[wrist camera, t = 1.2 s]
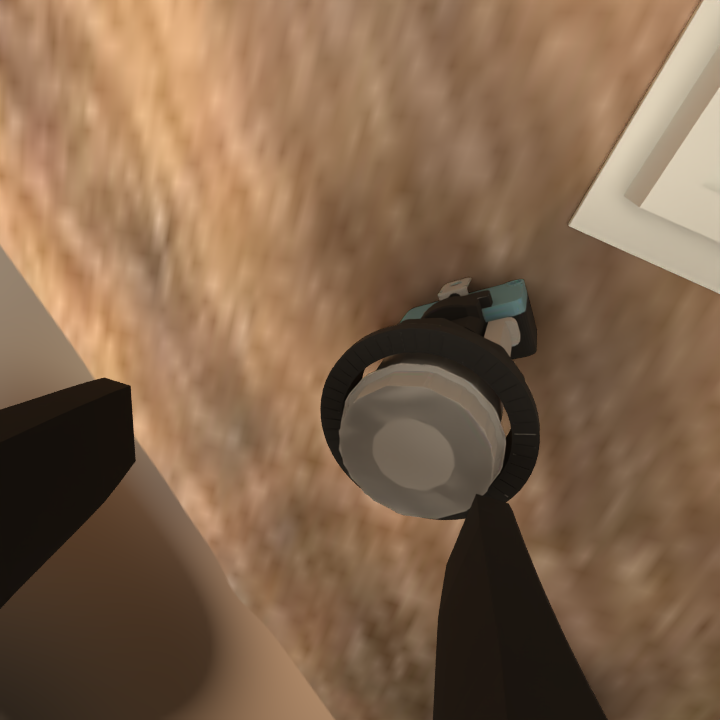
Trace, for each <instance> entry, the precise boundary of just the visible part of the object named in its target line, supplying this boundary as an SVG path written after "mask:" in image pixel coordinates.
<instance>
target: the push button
mask: <svg viewBox="0 0 720 720" xmlns="http://www.w3.org/2000/svg"><path fill="white" fill-rule="evenodd" d="M470 281H471V278H464V279H461V280H457V281H454V282H450V283H447V284H445V285H444V286H443V287H442V289H441V290H440V293H439V294H438V298H439V301H438V302H434V303H430V304H427V305H423V306H419V307H416V308H413V309H411V310H409V311H408V312H407V313H406V315H405V316H404V317H403V319H402V320H401V321H400V323H399V324H397V325H395V326H391V327H387V328H383V329H381V330H378V331H376V332H373V333H371V334H369V335H367V336H365V337H364V338H362V339H361V340H359V341H358V342H356V343H355V344H354V345H353V346H352V347H350V348H349V349H348V350H347V351H346V352H345V353H344V354H343V356H342V357H341V358H340V359H339V360H338V361H337V363H336V364H335V365H334V367H333V368H332V370H331V371H330V373H329V376H328V378H327V380H326V382H325V385H324V388H323V393H322V397H321V422H322V428H323V432H324V435H325V438H326V441H327V444H328V446H329V448H330V450H331V452H332V454H333V456H334V458H335V459H336V461H337V463H338V464H339V465H340V467H341V468H342V469H343V471H344V472H345V473H346V474H347V475H348V477H349V478H350V479H351V480H352V481H353V482H354V483H355V484H356V485H357V486H359V487H360V488H361V489H362V490H363V492H364V493H365V494H366V495H368V496H370V497H371V498H372V499H373V500H374V501H376V502H378V503H380V504H382V505H384V506H386V507H388V508H390V509H391V510H393V511H395V512H397V513H399V514H402V515H406V516H414V517H422V518H428V519H436V520H457V519H465V518H466V517H467V514H468V512H469V510H470V507H471V505H472V502H473V500H474V498H475V495H476V494H479V495H482V496H485V497H489V498H492V499H495V500H498V501H501V502H505V503H506V502H507V501H508V500H510V499H511V498H512V497H513V496H515V495H516V494H517V493H518V492H519V491H520V489H521V488H522V487H523V486H524V484H525V483H526V482H527V480H528V478H529V477H530V475H531V473H532V471H533V469H534V466H535V464H536V460H537V457H538V451H539V444H540V425H539V417H538V412H537V408H536V404H535V401H534V399H533V396H532V394H531V392H530V390H529V388H528V386H527V384H526V383H525V379H524V376H523V375H522V373H521V372H520V370H519V369H518V368H517V366H516V365H515V363H514V362H513V360H512V359H517V358H522V357H527V356H530V355H533V354H534V353H535V352H536V348H537V329H536V325H535V321H534V317H533V313H532V309H531V305H530V302H529V298H528V294H527V290H526V286H525V282H524V280H523V279H518V280H514V281H510V282H506V284H502V285H498V286H494V287H491V288H487V289H483V290H479V291H476V292H472V293H468V290H467V287H468V285H469V283H470ZM456 284H458V285H456ZM453 285H455V286H453ZM382 358H384V360H383V361H382V363H381V364H380V365H379V367H378V368H377V370H376V371H375V372H372V373H370V374H368V375H367V376H365V377H364V378H363V379H362V377H363V373H364V370H365V368H366V367H368V366H369V365H370V364H372V363H374V362H376V361H378V360H380V359H382ZM503 407H505V409H506V412H507V414H508V417H509V420H510V424H511V429H510V432H509V434H508V435H507V437H506V438H505V434H504V431H503V428H502V425H501V419H502V413H503Z"/></svg>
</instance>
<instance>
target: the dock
mask: <svg viewBox="0 0 720 720" xmlns="http://www.w3.org/2000/svg"><path fill="white" fill-rule="evenodd" d="M568 225H569V226H570V227H572V228H574V229H576V230H579V231H581V232H583V233H585V234H587V235H590V236H592V237H594V238H596V239H599V240H601V241H603V242H605V243H608V244H610V245H612V246H614V247H616V248H619V249H621V250H623V251H625V252H628V253H630V254H632V255H634V256H636V257H639V258H641V259H643V260H645V261H648V262H650V263H652V264H654V265H656V266H659V267H661V268H663V269H665V270H668V271H670V272H672V273H674V274H677V275H679V276H681V277H683V278H685V279H688V280H690V281H692V282H694V283H697V284H699V285H701V286H703V287H705V288H708V289H710V290H712V291H714V292H717V293H719V294H720V0H701V1H700V3H699V5H698V6H697V8H696V10H695V11H694V13H693V15H692V16H691V18H690V20H689V21H688V23H687V25H686V26H685V28H684V30H683V32H682V33H681V35H680V37H679V38H678V40H677V42H676V43H675V45H674V47H673V48H672V50H671V52H670V53H669V55H668V57H667V58H666V60H665V62H664V63H663V65H662V67H661V68H660V70H659V72H658V73H657V75H656V77H655V79H654V80H653V82H652V84H651V85H650V87H649V89H648V90H647V92H646V94H645V95H644V97H643V99H642V100H641V102H640V104H639V105H638V107H637V109H636V110H635V112H634V114H633V115H632V117H631V119H630V121H629V122H628V124H627V126H626V127H625V129H624V131H623V132H622V134H621V136H620V137H619V139H618V141H617V142H616V144H615V146H614V147H613V149H612V151H611V152H610V154H609V156H608V157H607V159H606V161H605V162H604V164H603V166H602V168H601V169H600V171H599V173H598V174H597V176H596V178H595V179H594V181H593V183H592V184H591V186H590V188H589V189H588V191H587V193H586V194H585V196H584V198H583V199H582V201H581V203H580V204H579V206H578V208H577V209H576V211H575V213H574V215H573V216H572V218H571V220H570V221H569V223H568Z"/></svg>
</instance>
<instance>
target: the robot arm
mask: <svg viewBox="0 0 720 720" xmlns="http://www.w3.org/2000/svg"><path fill="white" fill-rule="evenodd" d="M134 446H135V445H134V430H133V415H132V401H131V386H129V385H126V384H123V383H120V382H117V381H113V380H110V379H107V378H101V379H97V380H93V381H90V382H86V383H83V384H79V385H76V386H73V387H70V388H66V389H63V390H60V391H57V392H54V393H51V394H48V395H45V396H42V397H39V398H35V399H32V400H29V401H26V402H23V403H20V404H17V405H14V406H10V407H7V408H4V409H1V410H0V609H1V607H2V606H3V605H4V604H5V603H6V602H7V601H8V600H9V599H10V598H11V597H12V596H13V594H14V593H15V592H16V591H17V590H18V589H19V588H20V587H21V586H22V585H23V584H24V583H25V582H26V581H27V580H28V579H29V578H30V577H31V576H32V575H33V574H34V573H35V572H36V571H37V570H38V569H39V568H40V567H41V566H42V565H43V564H44V563H45V562H46V561H47V560H48V559H49V558H50V557H51V556H52V555H53V554H54V553H55V552H56V551H57V550H58V549H59V548H60V547H61V546H62V545H63V544H64V543H65V542H66V541H67V540H68V539H69V538H70V537H71V536H72V535H73V534H74V533H75V532H76V531H77V530H78V529H79V528H80V527H81V526H82V525H83V524H84V523H85V522H86V521H87V520H88V519H89V517H90V516H91V515H92V514H93V513H94V512H95V511H96V510H97V509H98V508H99V507H100V506H101V505H102V504H103V503H104V502H105V501H106V499H107V498H108V497H109V496H110V494H111V493H112V492H113V490H114V489H115V488H116V487H117V485H118V484H119V483H120V482H121V480H122V479H123V477H124V476H125V475H126V473H127V472H128V471H129V469H130V468H131V466H132V465H133V464H134V462H135V461H136V460H135V447H134ZM433 720H608V719H607V718H606V716H605V714H604V712H603V710H602V708H601V706H600V705H599V703H598V701H597V699H596V697H595V695H594V693H593V691H592V690H591V688H590V686H589V684H588V682H587V680H586V678H585V676H584V674H583V672H582V670H581V668H580V666H579V664H578V662H577V660H576V658H575V656H574V654H573V652H572V650H571V648H570V646H569V644H568V642H567V640H566V638H565V635H564V633H563V631H562V629H561V627H560V625H559V623H558V620H557V618H556V616H555V614H554V611H553V609H552V607H551V605H550V603H549V600H548V598H547V596H546V594H545V591H544V589H543V587H542V584H541V582H540V580H539V577H538V575H537V573H536V570H535V568H534V565H533V563H532V560H531V558H530V555H529V553H528V550H527V548H526V545H525V543H524V540H523V538H522V535H521V532H520V530H519V527H518V524H517V522H516V519H515V516H514V513H513V511H512V509H511V507H510V505H509V504H508V503H505V502H501V501H498V500H495V499H492V498H489V497H485V496H482V495H479V494H476V495H475V498H474V500H473V502H472V505H471V507H470V510H469V512H468V514H467V517H466V519H465V522H464V524H463V526H462V529H461V531H460V534H459V536H458V538H457V541H456V543H455V546H454V548H453V550H452V553H451V555H450V558H449V560H448V562H447V565H446V571H445V577H444V583H443V589H442V596H441V602H440V609H439V616H438V629H437V648H436V668H435V689H434V710H433Z"/></svg>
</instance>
